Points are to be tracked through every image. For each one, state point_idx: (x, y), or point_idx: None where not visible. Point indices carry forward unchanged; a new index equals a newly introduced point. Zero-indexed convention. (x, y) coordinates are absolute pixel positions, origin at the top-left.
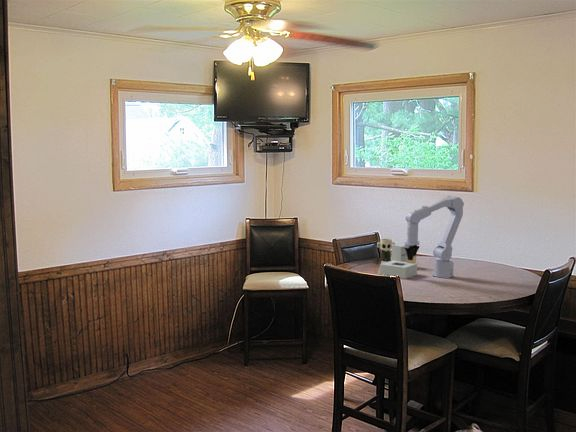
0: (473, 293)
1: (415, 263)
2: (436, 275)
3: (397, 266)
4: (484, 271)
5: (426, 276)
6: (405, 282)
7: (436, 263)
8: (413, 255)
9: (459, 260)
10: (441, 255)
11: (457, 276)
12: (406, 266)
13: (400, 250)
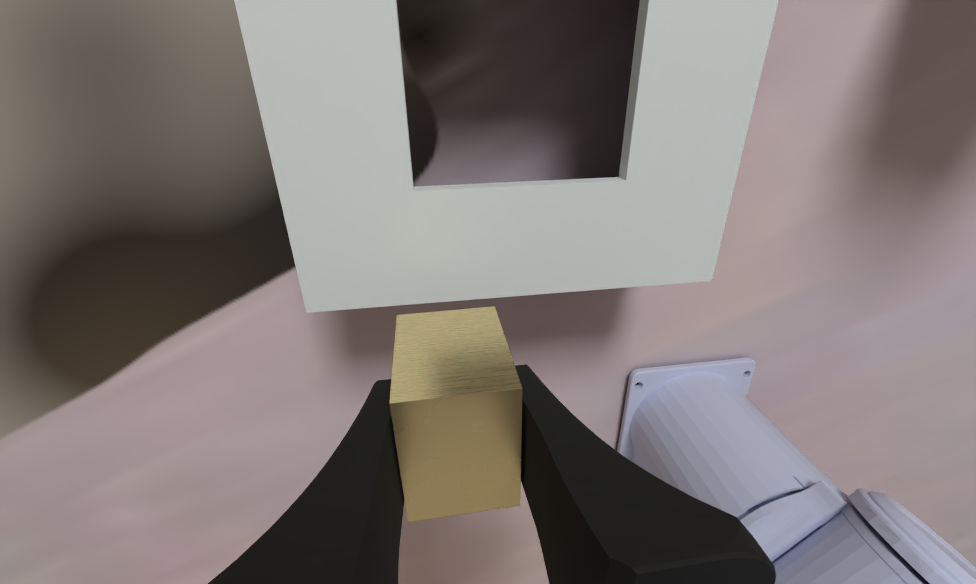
0: None
1: (711, 257)
2: (639, 404)
3: (297, 161)
4: (942, 504)
5: (594, 341)
6: (190, 333)
7: (707, 490)
8: (510, 466)
9: None
10: None
11: None
12: (416, 272)
13: None
